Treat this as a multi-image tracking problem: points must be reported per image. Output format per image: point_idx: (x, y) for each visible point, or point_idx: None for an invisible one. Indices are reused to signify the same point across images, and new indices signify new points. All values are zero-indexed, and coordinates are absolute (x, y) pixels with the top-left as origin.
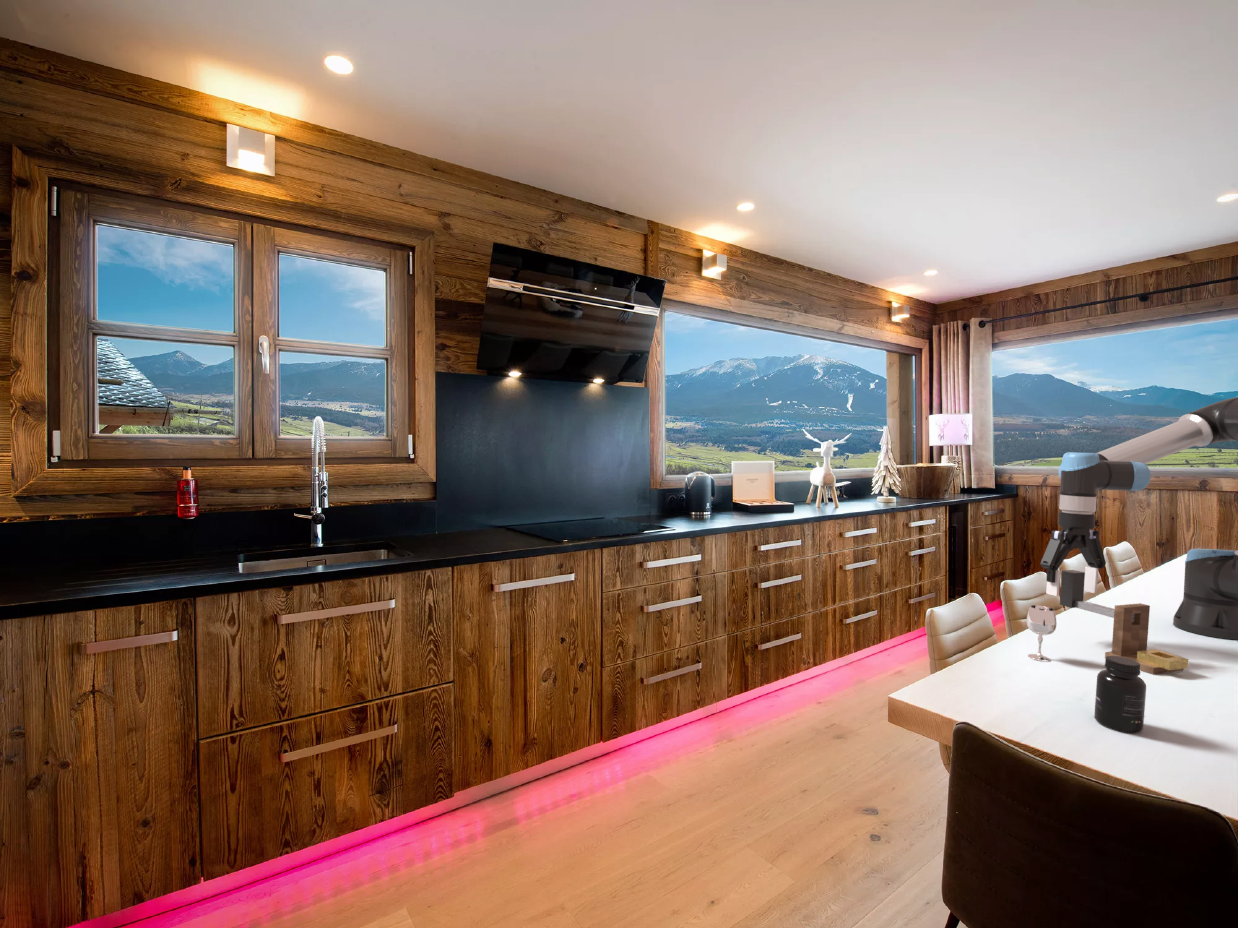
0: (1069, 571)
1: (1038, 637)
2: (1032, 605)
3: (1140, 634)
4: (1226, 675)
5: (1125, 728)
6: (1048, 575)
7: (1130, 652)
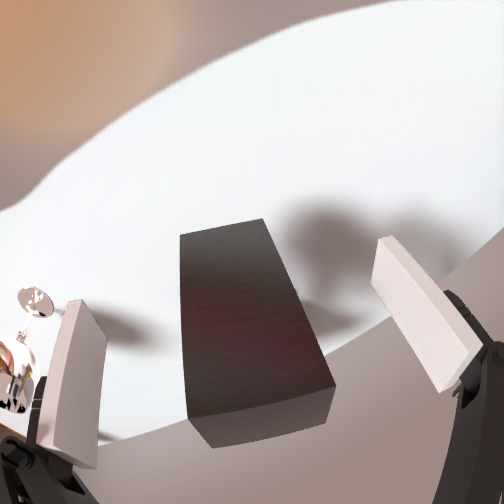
0: (231, 428)
1: (18, 336)
2: None
3: None
4: (331, 350)
5: None
6: (38, 417)
7: None
